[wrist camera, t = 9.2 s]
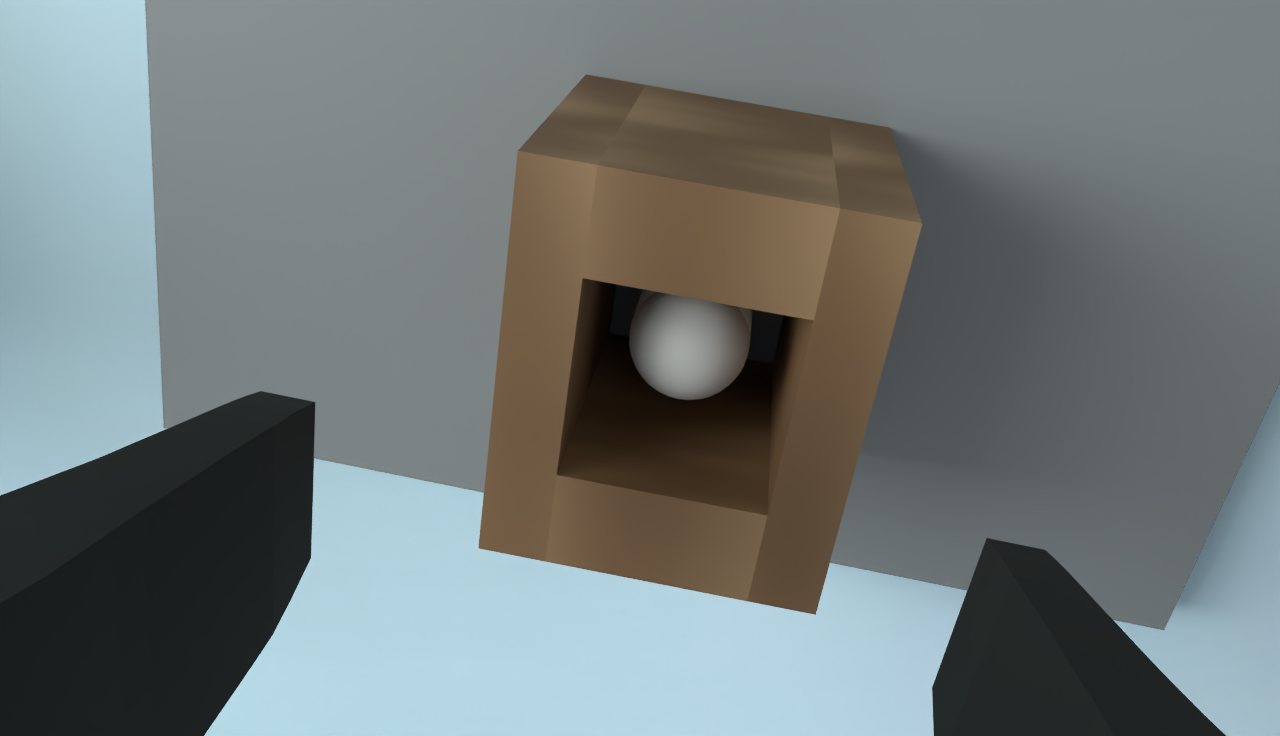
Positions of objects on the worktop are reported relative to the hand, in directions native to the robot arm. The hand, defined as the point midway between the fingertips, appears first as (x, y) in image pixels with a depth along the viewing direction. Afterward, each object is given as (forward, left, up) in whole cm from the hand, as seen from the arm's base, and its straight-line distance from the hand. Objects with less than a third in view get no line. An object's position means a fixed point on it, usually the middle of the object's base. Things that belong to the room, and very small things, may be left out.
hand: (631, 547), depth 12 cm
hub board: (0, -2, -9) cm, 10 cm away
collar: (0, 0, -8) cm, 8 cm away
